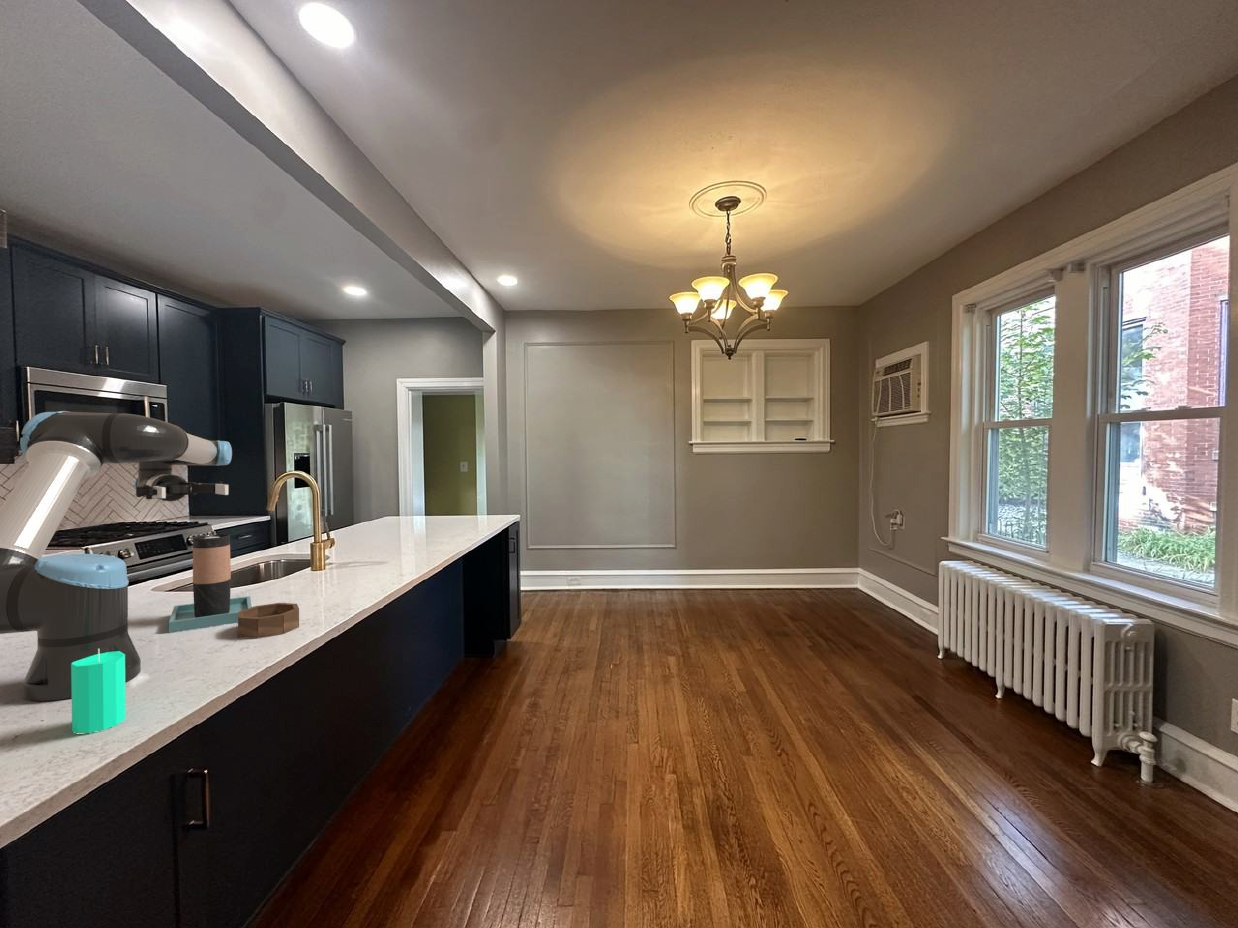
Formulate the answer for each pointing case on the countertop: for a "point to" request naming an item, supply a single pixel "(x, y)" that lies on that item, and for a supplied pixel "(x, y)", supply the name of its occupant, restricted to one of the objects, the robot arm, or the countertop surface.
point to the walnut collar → (268, 620)
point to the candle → (98, 692)
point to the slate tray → (186, 618)
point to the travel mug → (211, 575)
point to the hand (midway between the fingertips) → (196, 491)
